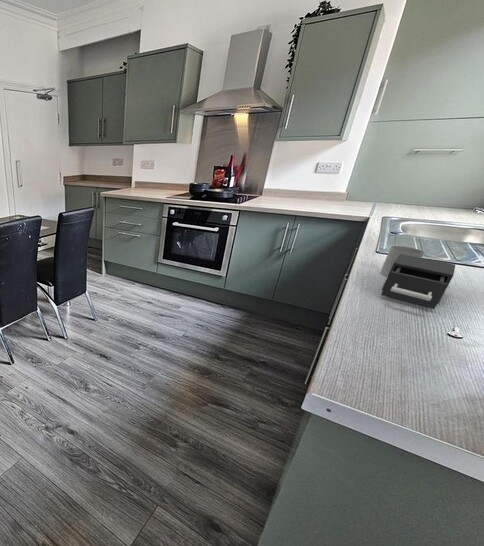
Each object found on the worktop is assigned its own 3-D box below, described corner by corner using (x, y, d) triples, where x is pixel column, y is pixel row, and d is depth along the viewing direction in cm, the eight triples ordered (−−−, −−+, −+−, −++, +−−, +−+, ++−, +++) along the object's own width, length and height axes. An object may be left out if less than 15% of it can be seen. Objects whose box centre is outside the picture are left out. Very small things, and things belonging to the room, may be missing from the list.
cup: (408, 282, 108) (421, 255, 104) (377, 274, 114) (388, 248, 110) (413, 276, 112) (426, 250, 108) (383, 269, 118) (394, 244, 115)
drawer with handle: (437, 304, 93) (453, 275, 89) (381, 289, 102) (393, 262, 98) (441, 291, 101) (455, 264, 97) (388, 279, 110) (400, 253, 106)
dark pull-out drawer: (432, 315, 85) (446, 290, 82) (377, 300, 93) (387, 276, 90) (437, 296, 96) (449, 273, 93) (387, 284, 104) (397, 262, 101)
